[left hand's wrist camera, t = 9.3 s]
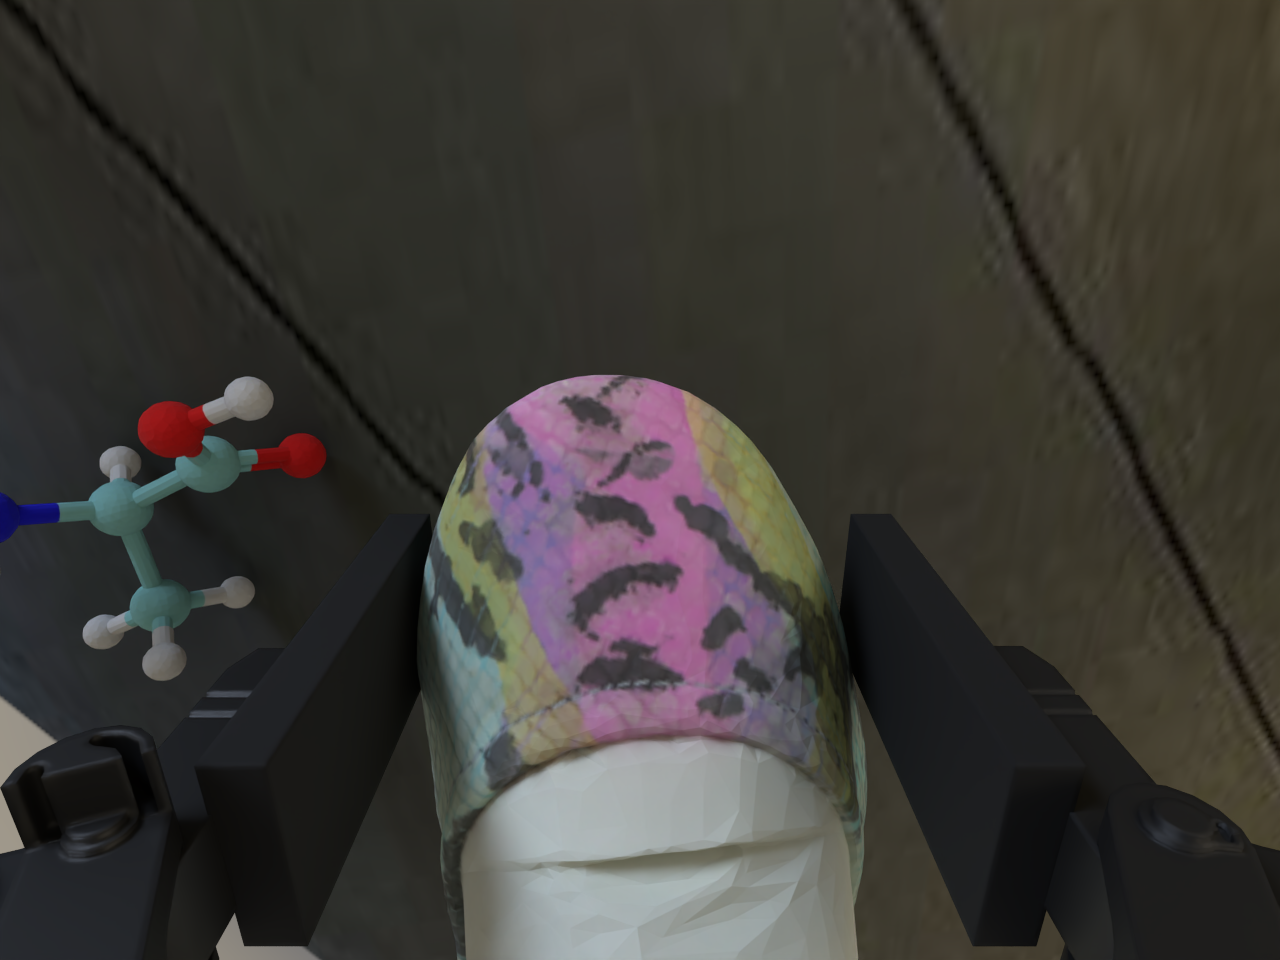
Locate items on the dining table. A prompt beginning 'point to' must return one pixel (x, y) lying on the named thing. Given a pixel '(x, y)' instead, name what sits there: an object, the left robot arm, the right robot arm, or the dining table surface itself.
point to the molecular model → (132, 506)
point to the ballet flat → (637, 692)
